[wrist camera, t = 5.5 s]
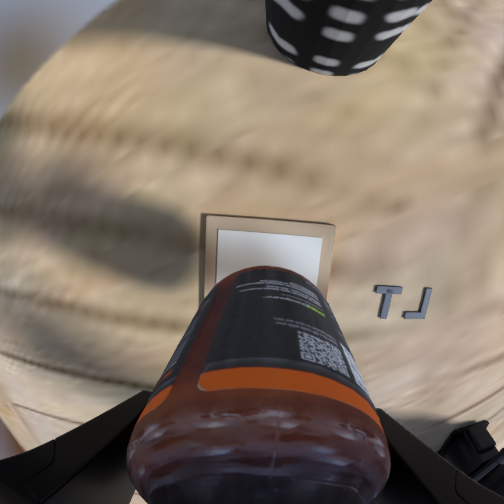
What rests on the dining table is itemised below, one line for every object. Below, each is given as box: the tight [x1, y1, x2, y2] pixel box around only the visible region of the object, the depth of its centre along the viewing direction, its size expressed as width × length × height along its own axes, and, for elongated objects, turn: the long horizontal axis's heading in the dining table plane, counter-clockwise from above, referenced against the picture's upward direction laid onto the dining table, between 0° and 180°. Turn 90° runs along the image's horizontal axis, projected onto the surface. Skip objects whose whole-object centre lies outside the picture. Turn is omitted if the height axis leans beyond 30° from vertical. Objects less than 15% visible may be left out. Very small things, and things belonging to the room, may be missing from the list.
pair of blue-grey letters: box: [376, 286, 432, 319], centre depth 19 cm, size 2×5×1 cm, turn 86°
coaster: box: [204, 215, 336, 299], centre depth 19 cm, size 8×8×1 cm
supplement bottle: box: [126, 265, 391, 504], centre depth 7 cm, size 6×6×11 cm
